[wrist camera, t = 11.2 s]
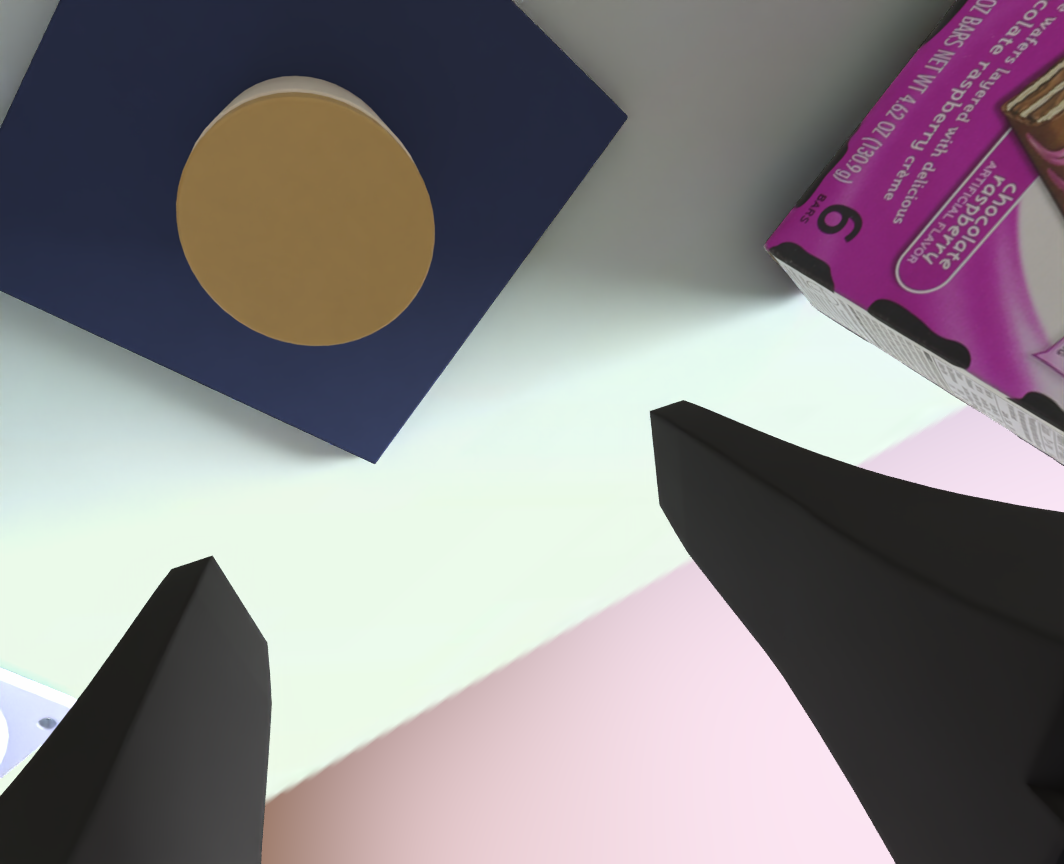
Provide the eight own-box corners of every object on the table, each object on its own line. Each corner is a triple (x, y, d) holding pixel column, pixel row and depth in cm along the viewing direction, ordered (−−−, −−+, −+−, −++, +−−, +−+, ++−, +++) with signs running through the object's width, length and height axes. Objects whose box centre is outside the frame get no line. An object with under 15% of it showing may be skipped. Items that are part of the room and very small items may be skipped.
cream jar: (311, 306, 17) (313, 392, 13) (162, 165, 15) (109, 217, 11) (440, 194, 17) (485, 247, 13) (309, 29, 14) (312, 28, 10)
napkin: (373, 456, 21) (375, 465, 20) (-54, 256, 15) (-64, 262, 15) (622, 114, 18) (629, 116, 17) (205, -297, 12) (202, -308, 12)
